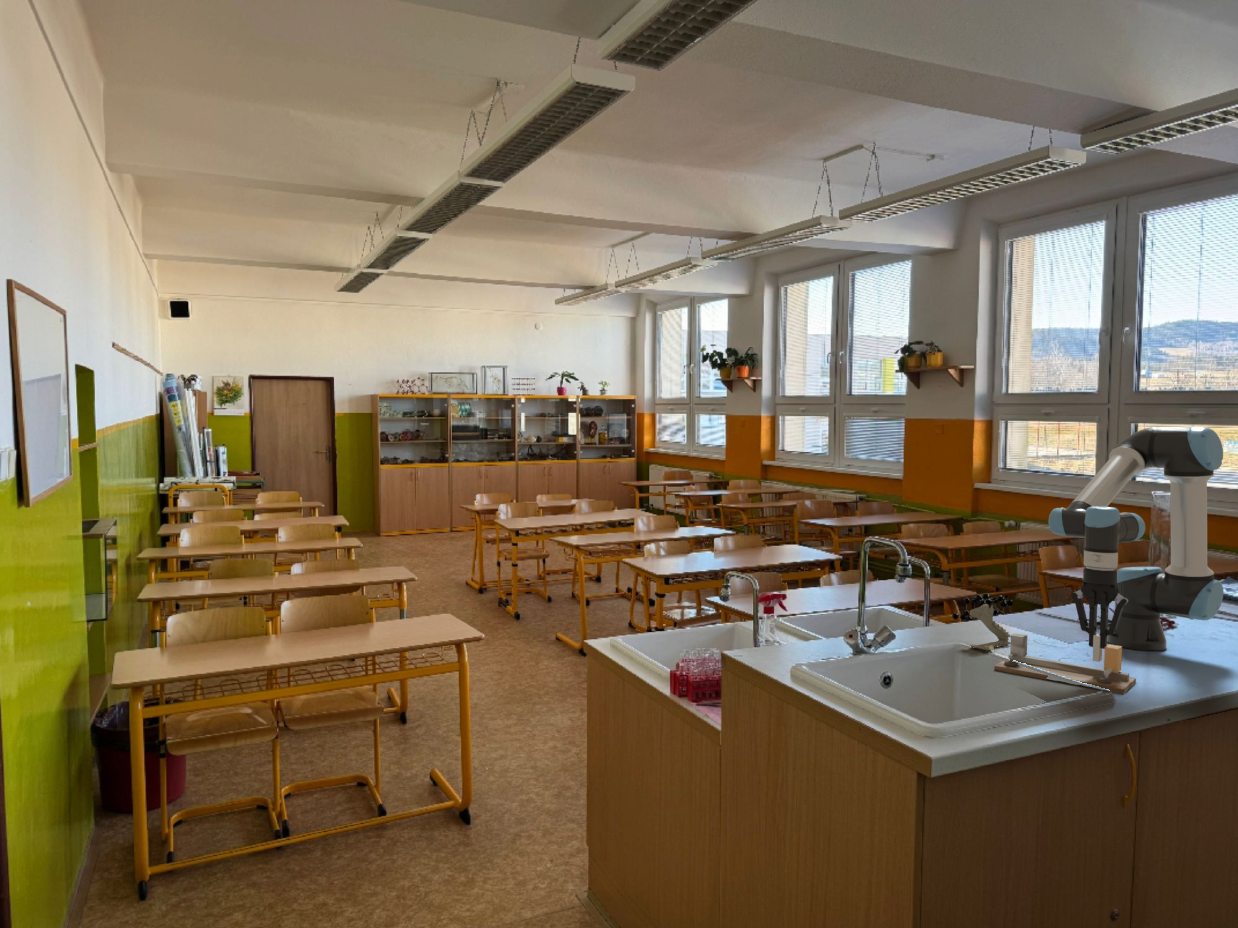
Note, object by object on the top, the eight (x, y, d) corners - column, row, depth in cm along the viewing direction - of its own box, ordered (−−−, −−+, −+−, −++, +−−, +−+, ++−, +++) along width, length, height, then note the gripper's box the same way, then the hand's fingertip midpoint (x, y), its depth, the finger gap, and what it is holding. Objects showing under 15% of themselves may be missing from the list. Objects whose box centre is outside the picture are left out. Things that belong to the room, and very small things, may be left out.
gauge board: (1010, 660, 238) (1011, 630, 238) (1135, 682, 218) (1136, 650, 217) (994, 669, 228) (995, 639, 228) (1123, 694, 208) (1124, 660, 208)
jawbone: (1014, 665, 252) (986, 648, 245) (990, 664, 258) (962, 648, 250) (1019, 619, 257) (991, 602, 250) (995, 619, 263) (967, 602, 256)
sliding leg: (1107, 670, 221) (1108, 644, 220) (1121, 672, 219) (1122, 646, 218) (1098, 677, 214) (1099, 650, 214) (1112, 679, 212) (1113, 652, 212)
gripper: (1068, 566, 221) (1065, 658, 222) (1126, 572, 212) (1122, 668, 213) (1076, 563, 227) (1073, 652, 228) (1133, 569, 218) (1129, 662, 219)
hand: (1097, 660), depth 220 cm, fingers closed
